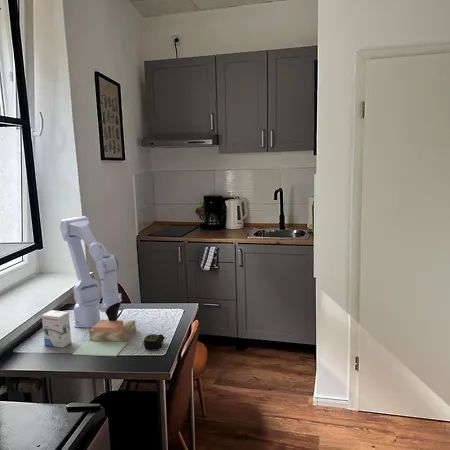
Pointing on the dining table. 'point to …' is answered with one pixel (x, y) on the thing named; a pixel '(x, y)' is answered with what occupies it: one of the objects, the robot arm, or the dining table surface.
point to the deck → (119, 336)
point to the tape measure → (153, 341)
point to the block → (108, 326)
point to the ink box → (56, 328)
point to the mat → (100, 348)
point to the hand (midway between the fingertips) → (113, 322)
